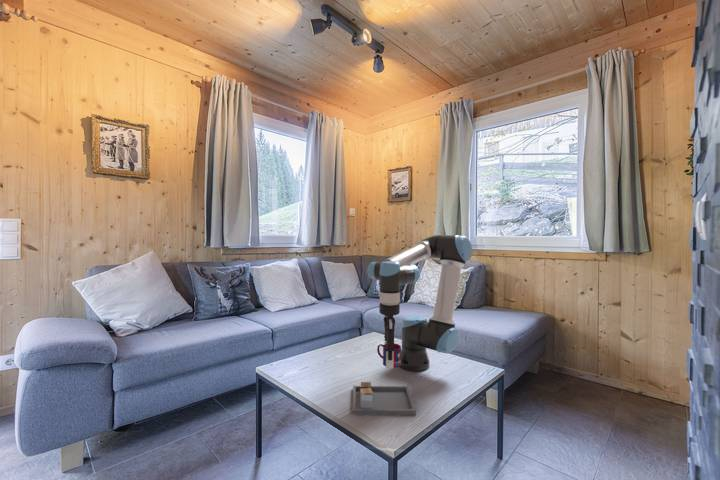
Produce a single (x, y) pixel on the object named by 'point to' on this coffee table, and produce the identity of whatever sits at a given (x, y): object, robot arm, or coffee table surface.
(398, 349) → the mug
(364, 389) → the block beech
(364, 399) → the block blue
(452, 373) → the coffee table surface
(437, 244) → the robot arm
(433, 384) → the coffee table surface
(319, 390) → the coffee table surface
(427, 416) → the coffee table surface
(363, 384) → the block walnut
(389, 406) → the tray
